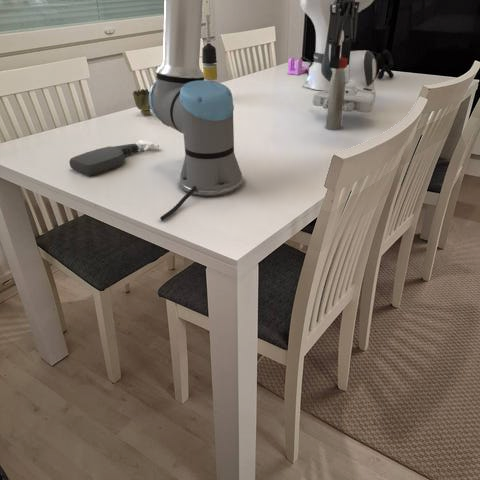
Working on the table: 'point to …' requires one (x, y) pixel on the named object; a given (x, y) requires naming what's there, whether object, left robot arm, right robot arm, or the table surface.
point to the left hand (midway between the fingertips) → (339, 66)
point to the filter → (209, 57)
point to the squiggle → (381, 63)
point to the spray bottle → (106, 157)
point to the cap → (343, 62)
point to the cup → (142, 101)
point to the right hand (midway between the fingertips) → (334, 107)
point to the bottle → (336, 99)
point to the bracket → (298, 68)
